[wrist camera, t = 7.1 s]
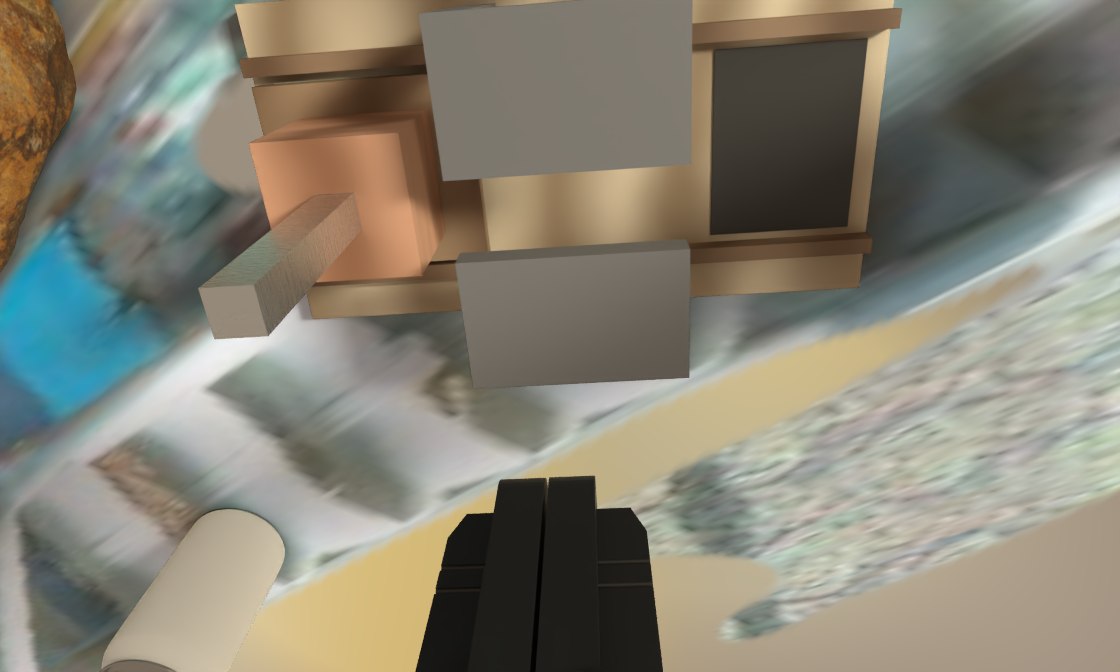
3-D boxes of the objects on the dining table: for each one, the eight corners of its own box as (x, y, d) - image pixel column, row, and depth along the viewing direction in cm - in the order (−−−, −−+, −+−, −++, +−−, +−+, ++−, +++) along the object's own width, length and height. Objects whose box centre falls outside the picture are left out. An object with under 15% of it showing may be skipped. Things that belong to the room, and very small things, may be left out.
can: (202, 492, 47) (91, 641, 37) (297, 522, 48) (217, 676, 38) (186, 559, 50) (78, 717, 39) (276, 587, 51) (196, 748, 40)
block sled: (468, 69, 33) (376, 140, 18) (490, 251, 37) (430, 435, 22) (260, 85, 34) (0, 167, 19) (303, 263, 38) (118, 450, 23)
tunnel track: (886, -49, 33) (1032, -65, 22) (849, 277, 40) (946, 381, 29) (248, 3, 34) (103, 11, 24) (321, 308, 41) (235, 417, 31)
